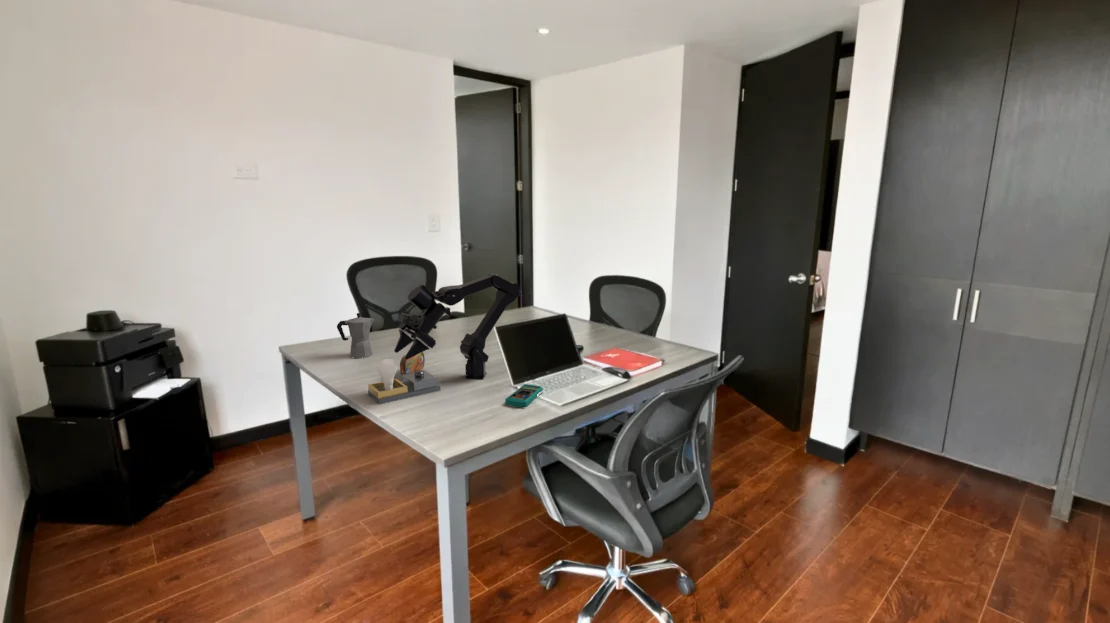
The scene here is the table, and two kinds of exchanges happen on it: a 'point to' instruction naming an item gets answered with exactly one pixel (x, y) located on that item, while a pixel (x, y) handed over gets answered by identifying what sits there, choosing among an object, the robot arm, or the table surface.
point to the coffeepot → (358, 335)
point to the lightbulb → (387, 372)
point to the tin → (412, 363)
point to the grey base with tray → (404, 387)
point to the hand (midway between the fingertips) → (400, 355)
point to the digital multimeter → (523, 395)
